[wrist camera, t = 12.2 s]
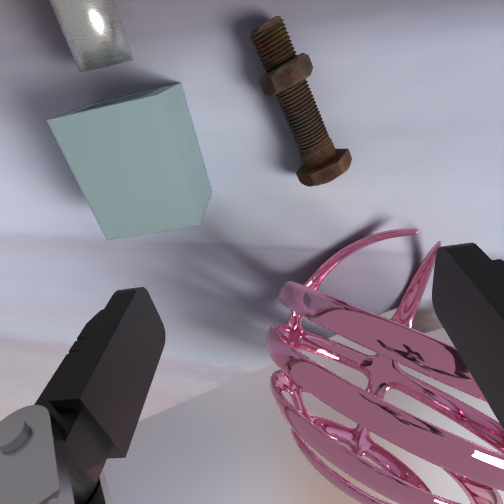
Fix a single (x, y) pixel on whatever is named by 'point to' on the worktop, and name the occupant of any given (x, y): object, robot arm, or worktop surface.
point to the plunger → (93, 32)
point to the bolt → (298, 103)
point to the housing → (137, 161)
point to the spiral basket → (380, 393)
